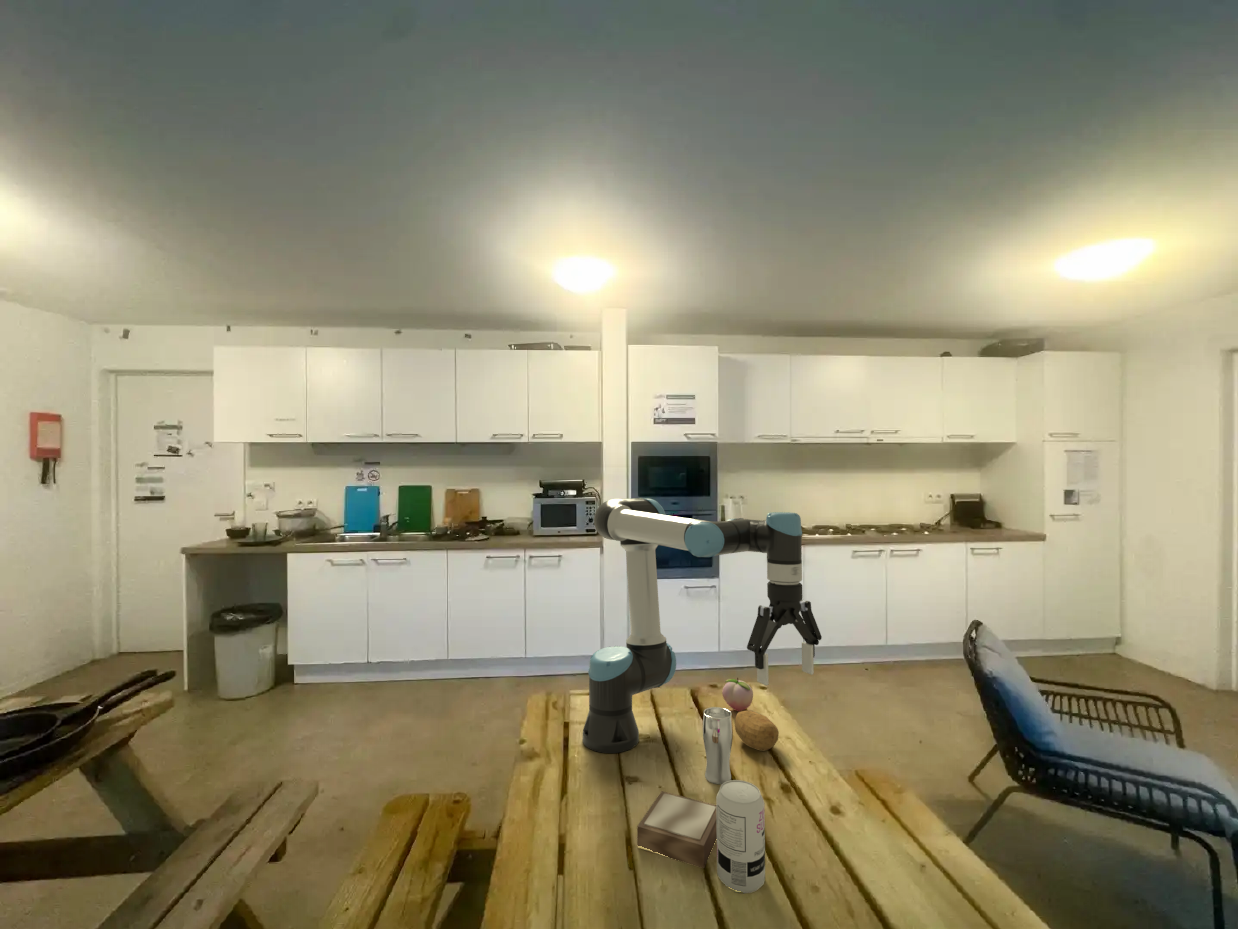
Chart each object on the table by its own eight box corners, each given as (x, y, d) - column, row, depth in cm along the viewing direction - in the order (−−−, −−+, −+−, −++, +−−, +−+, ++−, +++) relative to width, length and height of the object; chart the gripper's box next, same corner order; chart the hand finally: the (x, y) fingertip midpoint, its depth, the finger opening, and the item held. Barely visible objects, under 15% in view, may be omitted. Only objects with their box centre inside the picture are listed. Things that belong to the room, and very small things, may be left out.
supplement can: (711, 863, 98) (711, 779, 99) (755, 860, 99) (755, 777, 99) (724, 897, 90) (723, 805, 91) (772, 894, 91) (771, 803, 91)
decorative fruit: (759, 710, 164) (758, 677, 164) (746, 719, 157) (745, 685, 158) (731, 702, 170) (731, 670, 170) (717, 710, 164) (717, 677, 164)
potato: (754, 731, 150) (754, 702, 150) (788, 755, 137) (788, 723, 137) (724, 738, 146) (724, 708, 147) (756, 762, 133) (756, 730, 134)
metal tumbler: (736, 773, 128) (735, 709, 129) (729, 788, 122) (728, 721, 123) (707, 767, 131) (707, 704, 132) (699, 781, 125) (699, 715, 125)
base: (637, 848, 102) (637, 825, 102) (661, 810, 114) (661, 789, 114) (703, 868, 97) (703, 844, 97) (722, 826, 108) (722, 805, 109)
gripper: (753, 589, 112) (754, 694, 111) (837, 579, 123) (838, 673, 123) (729, 584, 118) (730, 682, 117) (811, 574, 130) (812, 663, 129)
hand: (785, 678), depth 120 cm, fingers open, 13 cm apart
